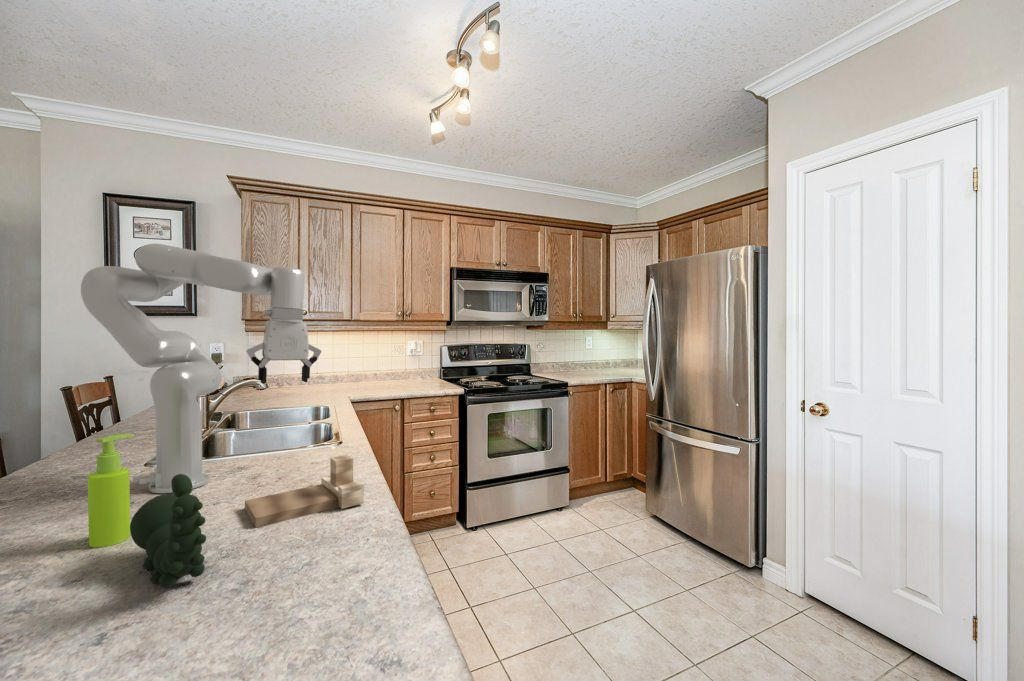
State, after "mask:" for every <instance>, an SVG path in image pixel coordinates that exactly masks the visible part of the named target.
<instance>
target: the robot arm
mask: <svg viewBox="0 0 1024 681" xmlns="http://www.w3.org/2000/svg"><path fill="white" fill-rule="evenodd" d="M134 260H135V263H136V265H137V267H138V268H139V269H135V268H129V267H123V266H115V265H113V266H111V265H105V266H104V265H102V266H98V267H93V268H91V269H90V270H88V271H87V272H86V273H85V274H84V275H83V278H82V280H81V284H80V297H81V300H82V302H83V304H84V306H85V308H86V309H87V311H88V312H89V313H90V314H91V315H92V316H93V318H94V319H96V320H97V322H99V323H100V324H101V326H103V327H104V328H105V330H107V331H108V333H110V335H111V337H112V338H114V340H115V341H116V343H118V345H119V346H120V347H121V348H122V349H123V350H124V351H125V353H127V355H128V356H129V358H131V359H132V360H133V361H134V362H135V363H136V364H137V365H138V366H141V367H143V368H147V369H149V368H151V369H152V368H158V369H156V371H155V372H153V374H152V376H151V377H150V382H149V387H150V388H149V389H150V393H151V396H152V397H151V398H152V400H153V406H154V415H155V416H154V417H155V455H156V456H155V459H156V460H155V462H156V464H155V465H156V468H154V471H152V472H149V473H148V474H144V475H143V474H141V475H134V476H132V485H138V484H139V486H142V485H147V484H149V485H148V491H149V492H151V493H153V494H174V493H173V491H172V483H171V480H172V478H173V477H174V476H176V475H178V474H184V475H186V476H188V477H189V478H190V480H191V482H192V486H193V487H192V490H194V489H196V488H197V489H198V488H199V487H202V486H204V485H206V484H207V483H209V481H210V479H211V477H210V474H208V473H206V472H205V473H204V472H203V421H202V420H203V419H202V418H203V416H202V411H201V407H200V404H199V403H198V401H197V398H198V397H200V396H201V397H202V396H206V395H209V394H211V393H214V392H215V391H216V390H218V389H219V388H220V386H221V384H222V380H223V375H222V373H221V369H220V368H219V367H218V365H217V364H216V363H215V361H214V360H213V359H212V358H211V357H210V355H209V354H208V353H207V352H206V351H205V350H204V348H203V347H202V346H201V345H200V343H198V342H197V341H196V340H195V339H194V338H193V337H192V336H190V335H189V334H187V333H186V332H182V331H177V330H163V329H160V328H159V327H158V326H156V325H155V323H153V321H151V319H150V318H149V317H148V316H147V314H145V312H143V311H142V310H141V309H139V308H138V307H136V306H134V305H133V304H132V303H131V302H136V303H137V302H138V303H139V302H140V303H150V302H151V303H152V302H153V301H157V300H159V299H161V298H163V297H164V296H166V295H168V294H169V293H171V292H173V291H175V290H176V289H177V288H179V287H181V286H183V285H184V284H191V285H196V286H200V287H204V286H206V287H211V288H216V289H220V290H226V291H230V292H231V291H232V292H236V293H239V294H240V293H241V294H249V295H257V296H261V297H262V296H263V297H264V296H265V297H266V296H270V299H269V300H270V303H269V305H270V307H269V309H267V310H265V309H264V310H263V316H266V317H268V318H269V320H266V324H265V327H264V332H263V333H264V334H263V340H262V342H261V343H259V344H256V345H254V346H252V347H250V348H247V349H246V351H245V352H246V353H247V355H248V357H249V359H250V360H251V362H252V363H254V364H255V365H256V366H257V367H258V373H257V375H258V376H257V377H258V378H257V379H258V380H257V381H260V383H261V384H262V385H264V384H267V375H268V374H267V372H268V371H267V367H266V365H268V364H269V362H270V361H300V362H301V363H302V364H303V365H302V367H301V381H302V382H304V383H308V379H309V380H310V377H311V367H312V366H313V364H315V363H316V362H317V360H318V359H319V357H320V355H321V354H322V349H320V348H317V347H315V346H313V345H311V344H310V343H309V334H308V332H309V331H308V324H307V322H306V321H305V322H304V321H303V320H304V294H305V293H304V291H305V288H304V287H305V273H304V272H303V270H302V269H300V268H296V267H290V266H276V267H274V268H271V267H268V266H264V265H263V266H262V265H260V264H256V263H251V262H246V261H241V260H238V259H237V260H236V259H232V258H227V257H221V256H216V255H211V254H210V253H208V252H203V251H197V250H192V249H189V248H184V247H183V248H182V247H178V246H173V245H167V244H163V243H147V244H144V245H143V246H142V245H141V247H139V248H138V249H137V251H136V252H135V256H134ZM260 350H261V355H262V358H261V359H259V358H258V357H257V356H256V352H259V351H260ZM310 351H311V352H313V354H312V356H311V357H309V352H310ZM308 357H309V359H308Z"/></svg>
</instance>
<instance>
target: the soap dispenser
mask: <svg viewBox="0 0 1024 681" xmlns="http://www.w3.org/2000/svg"><path fill="white" fill-rule="evenodd" d="M135 435H136V434H131V433H116V434H111V435H106V436H102V437H99V438H96V443H101V444H102V452H101V453H100V454H98V455H96V471H94V472H92V473H90V474H88V475H87V499H88V500H87V503H88V504H87V507H88V516H87V517H88V545H89V546H88V547H90V548H94V549H96V548H98V549H99V548H107V547H110V546H114V545H116V544H117V545H118V544H120V543H122V542H125V541H127V540H128V539H129V538H131V533H130V523H131V496H130V495H131V493H130V492H131V489H130V481H131V480H130V468H127V467H122V464H121V463H122V461H121V460H122V458H121V452H120V451H117V450H115V448H116V447H115V446H116V445H115V440H121V439H126V438H134V437H135Z"/></svg>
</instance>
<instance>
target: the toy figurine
mask: <svg viewBox="0 0 1024 681" xmlns="http://www.w3.org/2000/svg"><path fill="white" fill-rule="evenodd" d="M171 483H172V491H173V493H163V494H160V495H156V496H155V497H152V498H151V499H149V500H148V501H146V502H145V503H143V505H141V506H140V507H139V508H138V509H137V510H136V512H135V513H134V515H133V516H132V519H130V537H131V539H132V541H133V543H134V544H135V545H136V546H137V547H138V548H141V549H142V550H144V551H145V555H146V557H145V558H144V560H143V563H142V568H143V569H144V570H145V571H146V572H152V573H151V574H150V578H149V581H150V582H151V584H156V585H157V584H158V585H159V586H160V587H162V588H168V587H171V586H172V585H173V584H174V583H175V582H176V579H177V578H179V577H184V576H185V575H188V574H189V575H190V576H191V578H198V577H200V576H201V575H202V574H204V571H205V569H206V566H205V565H204V562H205V555H203V554H202V551H203V549H202V548H203V547H202V545H203V544H204V543H205V542H206V541H207V536H206V535H205V534H204V533H203V534H202V529H201V527H202V526H203V525H204V524H205V523H206V518H205V517H204V516H203V515H202V514H201V512H200V510H201V509H202V508H203V507H204V506H203V505H204V503H203V502H201V501H200V499H199V498H198V497H197V496H196V495H193V494H192V491H193V489H192V487H193V486H192V482H191V480H190V478H189V477H188V476H186V475H184V474H178V475H176V476H174V477H173V478H172V480H171Z"/></svg>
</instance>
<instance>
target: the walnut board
mask: <svg viewBox="0 0 1024 681" xmlns="http://www.w3.org/2000/svg"><path fill="white" fill-rule="evenodd" d="M335 508H337V509H338V508H340V507H339V506H338V497H337V496H336V495H334V494H333V493H332V492H331V491H330V490H329V489H327V488H326V487H325V486H324V485H323V484H322V483H321V484H316V485H311V486H306V487H302V488H298V489H294V490H288V491H284V492H278V493H275V494H274V493H273V494H270V495H264V496H260V497H254V498H251V499H245V500H244V511H245V512H246V514H247V515H248V517H249V519H250V521H251V522H252V524H253V526H254V527H255V529H257V528H261V527H265V526H268V525H272V524H277V523H281V522H284V521H289V520H292V519H296V518H301V517H305V516H309V515H313V514H317V513H321V512H325V511H328V510H332V509H335Z"/></svg>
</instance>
